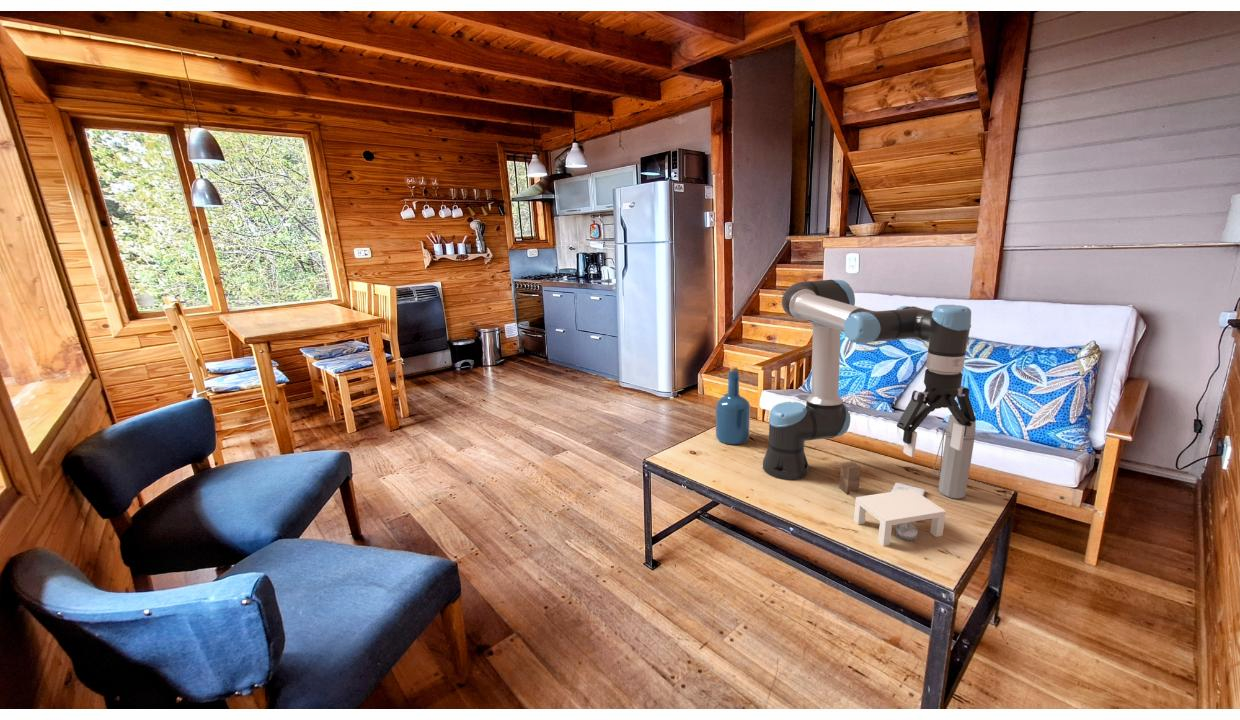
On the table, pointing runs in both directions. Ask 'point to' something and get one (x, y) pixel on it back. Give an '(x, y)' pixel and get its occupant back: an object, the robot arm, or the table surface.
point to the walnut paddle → (850, 479)
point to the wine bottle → (733, 413)
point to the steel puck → (906, 532)
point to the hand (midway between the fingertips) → (932, 451)
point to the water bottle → (955, 462)
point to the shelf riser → (899, 511)
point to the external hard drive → (904, 487)
